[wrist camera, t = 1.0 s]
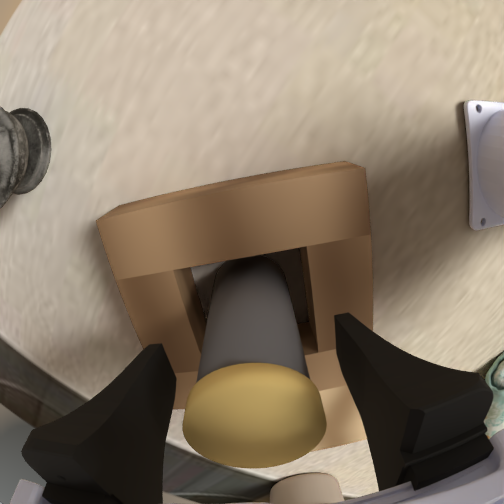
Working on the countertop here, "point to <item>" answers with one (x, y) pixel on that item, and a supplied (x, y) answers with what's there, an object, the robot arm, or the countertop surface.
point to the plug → (253, 374)
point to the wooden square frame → (245, 245)
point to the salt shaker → (22, 151)
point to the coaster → (340, 419)
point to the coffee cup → (307, 490)
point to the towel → (496, 397)
